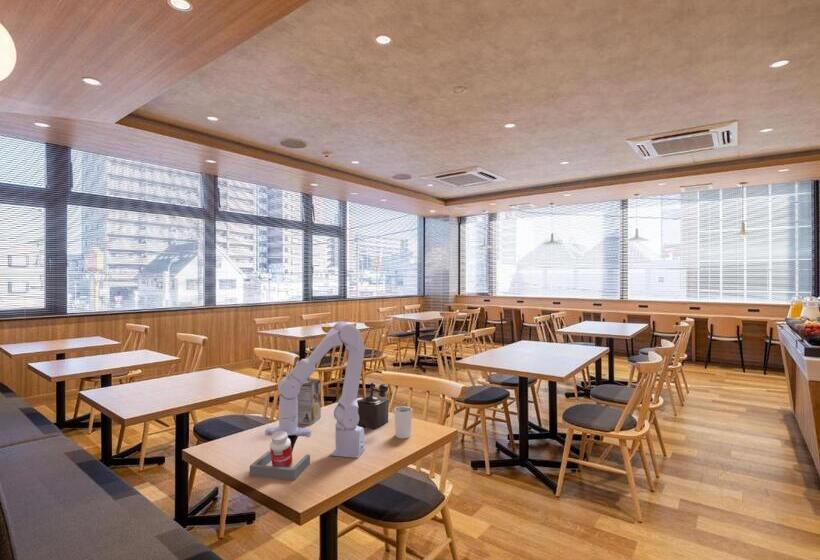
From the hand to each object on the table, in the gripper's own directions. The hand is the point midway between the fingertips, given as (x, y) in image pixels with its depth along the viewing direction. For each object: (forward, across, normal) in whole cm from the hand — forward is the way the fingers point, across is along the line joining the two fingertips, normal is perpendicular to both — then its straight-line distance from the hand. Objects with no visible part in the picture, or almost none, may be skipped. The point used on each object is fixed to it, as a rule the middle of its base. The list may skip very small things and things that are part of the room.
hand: (288, 458), depth 141 cm
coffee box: (+2, +5, -39) cm, 40 cm away
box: (+2, 0, +4) cm, 5 cm away
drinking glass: (+2, -35, -27) cm, 44 cm away
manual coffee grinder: (+2, -23, -37) cm, 44 cm away
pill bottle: (+1, 0, +4) cm, 4 cm away
